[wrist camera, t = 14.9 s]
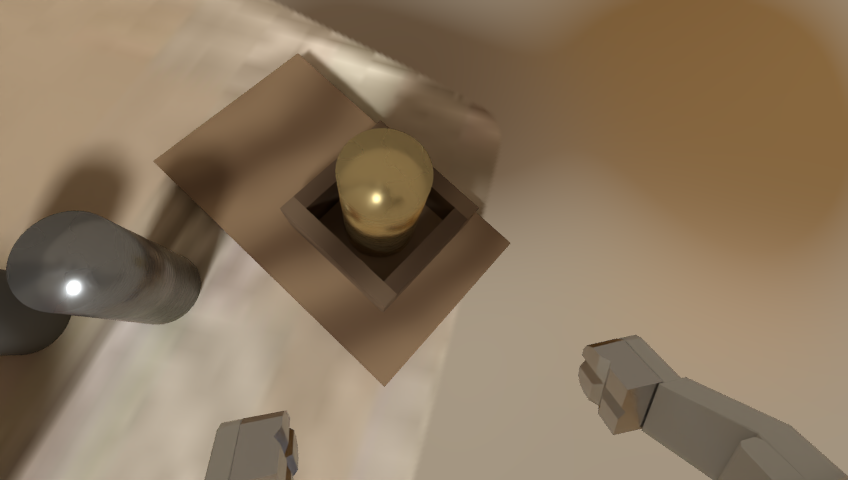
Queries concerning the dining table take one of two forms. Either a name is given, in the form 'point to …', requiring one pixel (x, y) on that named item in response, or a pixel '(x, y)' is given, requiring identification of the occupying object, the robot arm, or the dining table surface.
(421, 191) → the translucent yellow cylinder
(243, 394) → the dining table surface
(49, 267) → the dark steel roller
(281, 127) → the socket board
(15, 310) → the grey rounded cylinder
